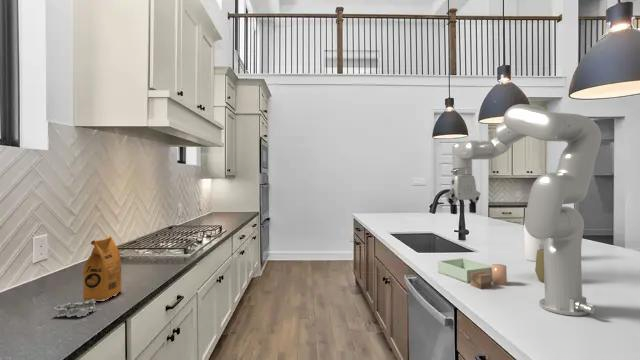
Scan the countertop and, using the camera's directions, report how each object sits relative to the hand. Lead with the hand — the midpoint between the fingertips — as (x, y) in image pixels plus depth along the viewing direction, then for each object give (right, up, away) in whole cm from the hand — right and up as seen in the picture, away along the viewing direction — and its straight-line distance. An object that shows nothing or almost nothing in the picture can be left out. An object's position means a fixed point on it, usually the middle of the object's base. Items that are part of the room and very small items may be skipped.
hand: (463, 213), depth 144 cm
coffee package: (-141, -30, -16) cm, 145 cm away
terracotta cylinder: (+9, -26, -11) cm, 30 cm away
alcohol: (+46, -26, +25) cm, 58 cm away
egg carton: (-140, -30, -32) cm, 147 cm away
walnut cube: (+1, -27, -14) cm, 30 cm away
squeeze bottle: (+29, -26, -10) cm, 40 cm away
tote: (+1, -26, +1) cm, 26 cm away
